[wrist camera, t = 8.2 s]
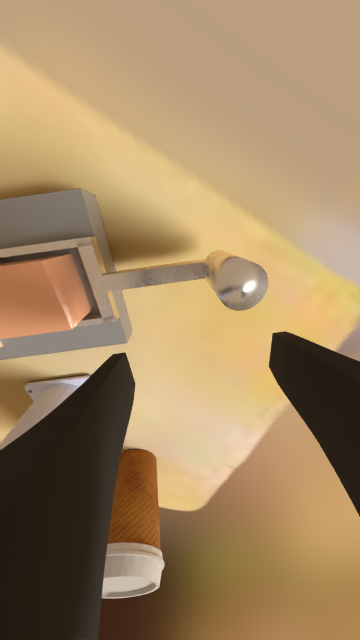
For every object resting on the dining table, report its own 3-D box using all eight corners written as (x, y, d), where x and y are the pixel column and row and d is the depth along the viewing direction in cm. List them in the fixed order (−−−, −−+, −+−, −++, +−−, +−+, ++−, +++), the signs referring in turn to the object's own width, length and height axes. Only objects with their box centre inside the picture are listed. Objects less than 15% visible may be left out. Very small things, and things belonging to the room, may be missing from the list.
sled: (230, 217, 13) (274, 208, 7) (230, 301, 16) (263, 339, 10) (-19, 252, 13) (-153, 267, 8) (25, 329, 16) (-50, 380, 10)
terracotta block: (71, 253, 14) (41, 260, 10) (91, 309, 16) (72, 329, 12) (4, 262, 14) (-45, 272, 10) (33, 317, 16) (-1, 339, 12)
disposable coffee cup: (95, 462, 30) (52, 593, 19) (132, 434, 27) (107, 569, 16) (140, 481, 33) (126, 602, 22) (178, 458, 30) (182, 583, 20)
